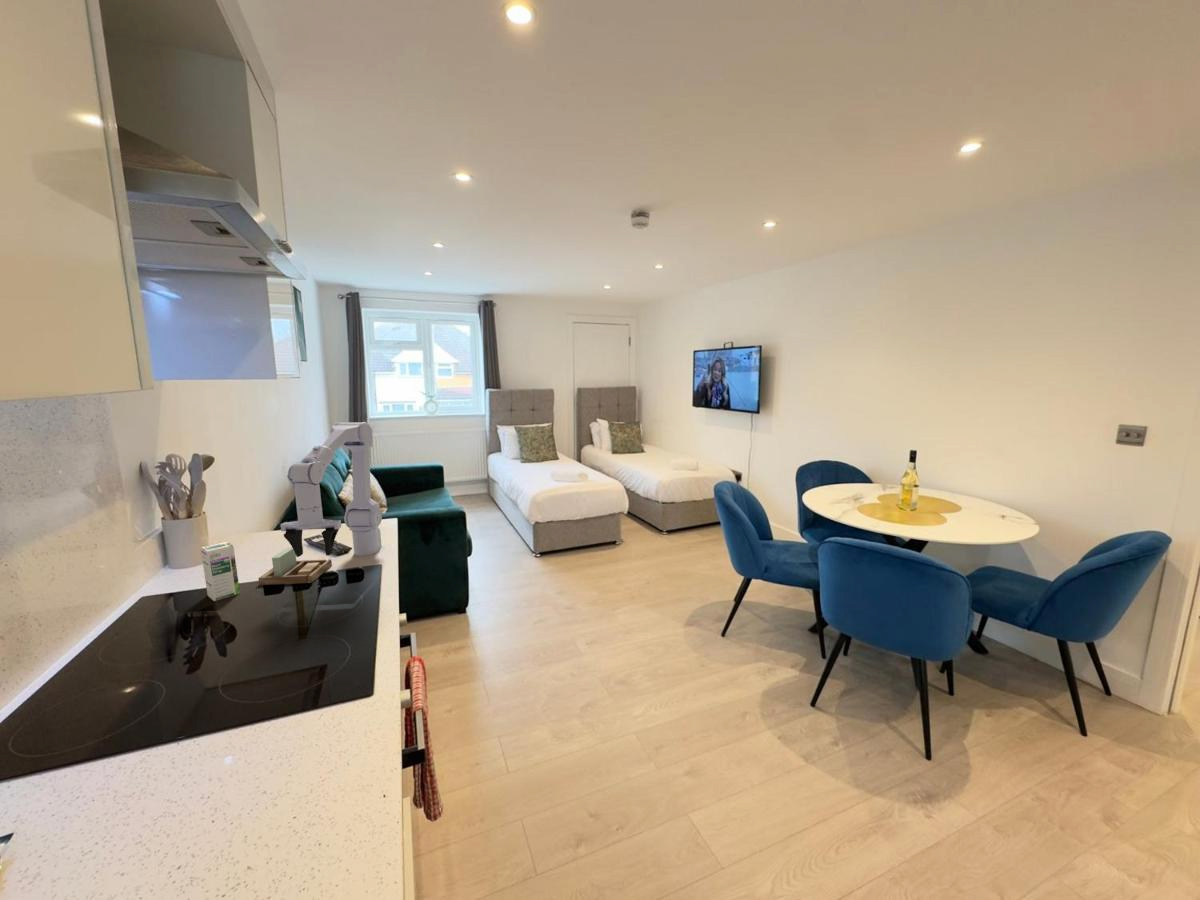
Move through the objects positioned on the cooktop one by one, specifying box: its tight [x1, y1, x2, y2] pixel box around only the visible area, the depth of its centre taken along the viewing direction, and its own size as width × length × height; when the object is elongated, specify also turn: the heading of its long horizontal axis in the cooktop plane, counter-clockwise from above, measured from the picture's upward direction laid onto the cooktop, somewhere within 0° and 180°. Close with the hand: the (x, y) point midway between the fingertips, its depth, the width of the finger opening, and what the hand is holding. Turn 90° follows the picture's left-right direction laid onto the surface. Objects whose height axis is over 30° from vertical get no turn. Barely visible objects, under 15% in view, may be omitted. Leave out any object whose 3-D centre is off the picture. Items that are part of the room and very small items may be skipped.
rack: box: [258, 558, 333, 586], centre depth 138 cm, size 12×14×3 cm
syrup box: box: [199, 541, 241, 602], centre depth 125 cm, size 6×6×14 cm
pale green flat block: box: [271, 546, 297, 576], centre depth 137 cm, size 8×2×7 cm, turn 6°
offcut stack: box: [298, 562, 321, 579], centre depth 138 cm, size 7×4×2 cm, turn 5°
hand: (314, 554), depth 129 cm, fingers open, 7 cm apart
